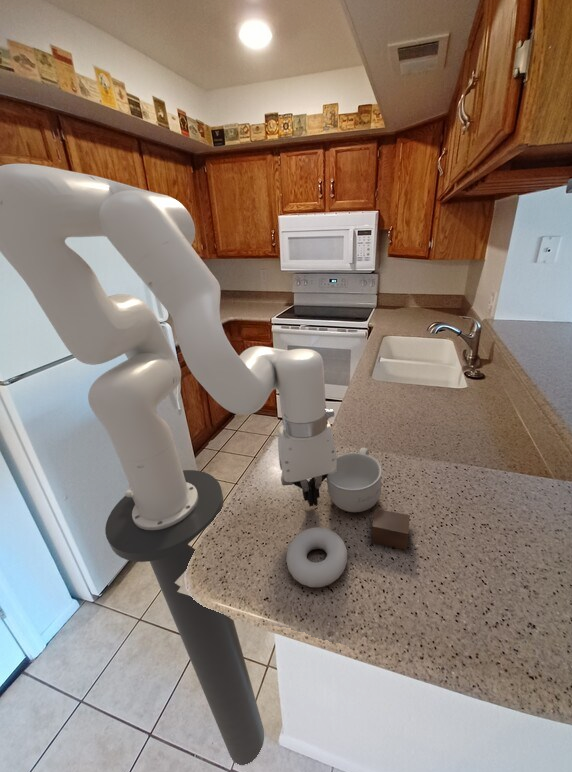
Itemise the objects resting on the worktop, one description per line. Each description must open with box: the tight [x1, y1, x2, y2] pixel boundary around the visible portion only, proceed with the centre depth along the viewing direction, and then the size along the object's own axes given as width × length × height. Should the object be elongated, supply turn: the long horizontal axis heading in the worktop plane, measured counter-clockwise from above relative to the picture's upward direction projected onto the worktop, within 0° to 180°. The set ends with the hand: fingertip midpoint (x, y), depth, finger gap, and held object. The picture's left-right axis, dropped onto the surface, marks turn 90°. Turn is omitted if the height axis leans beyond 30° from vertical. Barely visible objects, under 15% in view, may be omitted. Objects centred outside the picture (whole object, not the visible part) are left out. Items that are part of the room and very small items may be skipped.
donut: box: [285, 527, 348, 588], centre depth 53 cm, size 10×4×10 cm
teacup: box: [325, 447, 383, 513], centre depth 66 cm, size 14×11×8 cm
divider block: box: [371, 508, 411, 551], centre depth 57 cm, size 6×4×4 cm, turn 73°
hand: (311, 500), depth 64 cm, fingers closed
